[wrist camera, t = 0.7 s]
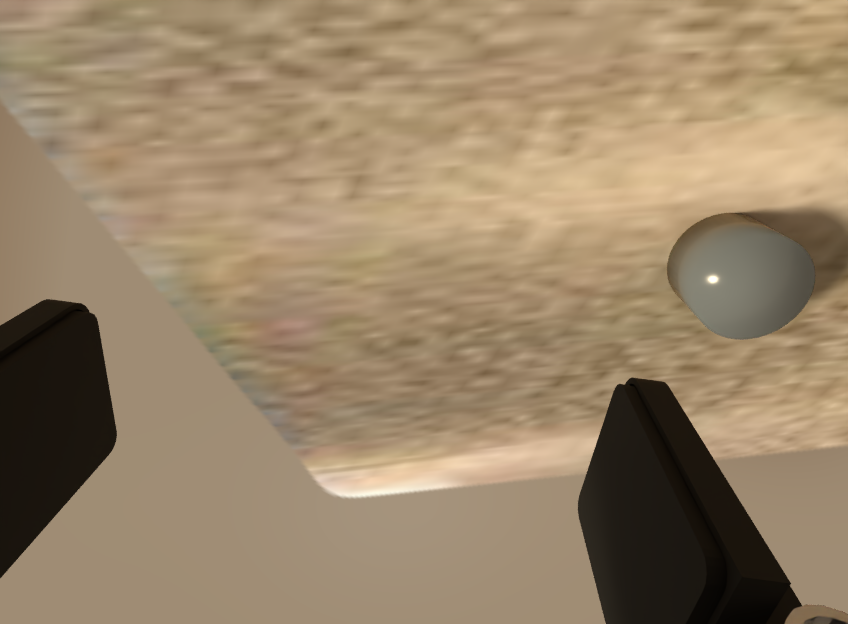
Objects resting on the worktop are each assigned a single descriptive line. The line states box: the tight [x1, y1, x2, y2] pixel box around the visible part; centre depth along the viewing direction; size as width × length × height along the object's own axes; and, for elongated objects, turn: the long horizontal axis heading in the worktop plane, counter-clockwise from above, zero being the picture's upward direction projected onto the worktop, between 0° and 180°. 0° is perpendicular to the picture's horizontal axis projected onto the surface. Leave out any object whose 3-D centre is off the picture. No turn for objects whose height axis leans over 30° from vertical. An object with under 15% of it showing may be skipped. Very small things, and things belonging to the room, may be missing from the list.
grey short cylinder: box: [667, 213, 815, 339], centre depth 35 cm, size 7×7×5 cm
